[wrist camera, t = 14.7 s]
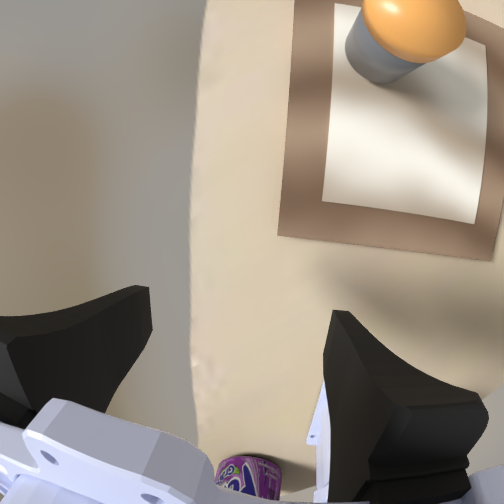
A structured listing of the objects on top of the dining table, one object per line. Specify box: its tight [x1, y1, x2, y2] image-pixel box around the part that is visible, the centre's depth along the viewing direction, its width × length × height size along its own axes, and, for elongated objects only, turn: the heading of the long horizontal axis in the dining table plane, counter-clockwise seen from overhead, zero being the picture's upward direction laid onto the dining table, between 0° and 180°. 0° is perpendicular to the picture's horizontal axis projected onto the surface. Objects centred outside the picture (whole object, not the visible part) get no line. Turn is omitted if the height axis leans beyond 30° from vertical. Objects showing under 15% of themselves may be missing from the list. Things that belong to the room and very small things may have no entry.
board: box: [277, 0, 504, 261], centre depth 17 cm, size 18×16×1 cm
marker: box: [345, 0, 466, 83], centre depth 12 cm, size 4×4×8 cm
